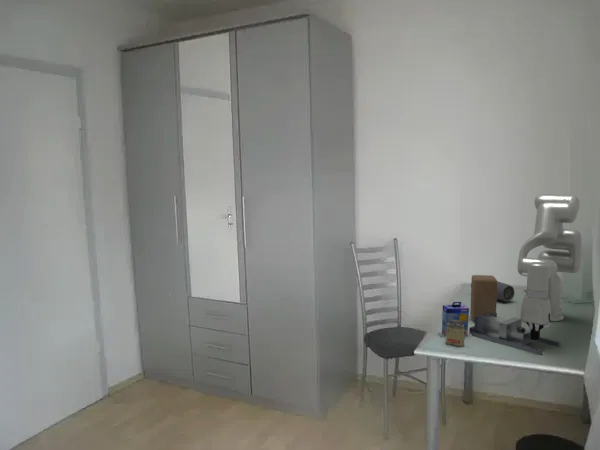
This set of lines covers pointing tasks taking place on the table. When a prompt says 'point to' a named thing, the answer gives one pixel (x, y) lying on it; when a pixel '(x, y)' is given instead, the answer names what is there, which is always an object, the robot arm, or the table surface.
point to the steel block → (493, 326)
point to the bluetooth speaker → (504, 292)
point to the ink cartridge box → (455, 316)
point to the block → (483, 295)
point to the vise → (480, 332)
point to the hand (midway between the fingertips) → (534, 339)
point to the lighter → (455, 333)
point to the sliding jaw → (514, 331)
